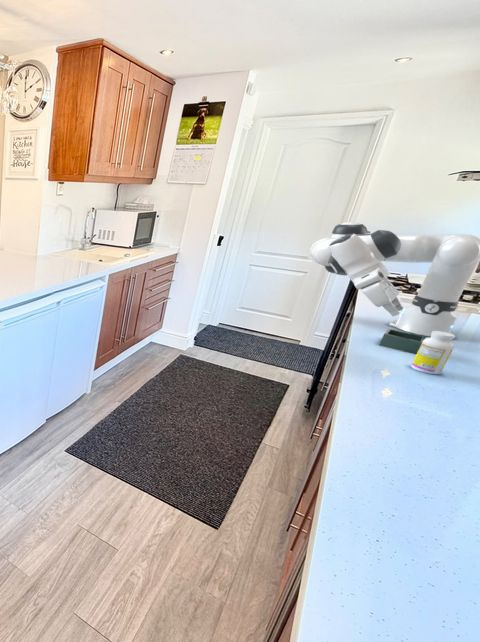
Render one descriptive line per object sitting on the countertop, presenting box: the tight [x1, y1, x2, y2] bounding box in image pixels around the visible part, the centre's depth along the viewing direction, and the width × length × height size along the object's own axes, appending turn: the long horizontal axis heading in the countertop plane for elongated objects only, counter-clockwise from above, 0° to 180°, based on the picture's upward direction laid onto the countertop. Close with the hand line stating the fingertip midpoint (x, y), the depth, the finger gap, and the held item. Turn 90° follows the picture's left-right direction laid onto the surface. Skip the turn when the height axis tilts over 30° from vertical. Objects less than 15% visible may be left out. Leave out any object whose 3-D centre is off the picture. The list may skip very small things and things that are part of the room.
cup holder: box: [378, 328, 427, 355], centre depth 148 cm, size 10×10×4 cm
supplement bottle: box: [410, 331, 455, 375], centre depth 127 cm, size 7×7×13 cm
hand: (398, 312), depth 131 cm, fingers open, 8 cm apart
